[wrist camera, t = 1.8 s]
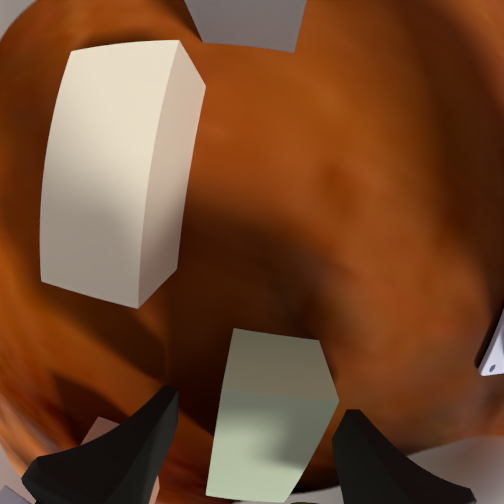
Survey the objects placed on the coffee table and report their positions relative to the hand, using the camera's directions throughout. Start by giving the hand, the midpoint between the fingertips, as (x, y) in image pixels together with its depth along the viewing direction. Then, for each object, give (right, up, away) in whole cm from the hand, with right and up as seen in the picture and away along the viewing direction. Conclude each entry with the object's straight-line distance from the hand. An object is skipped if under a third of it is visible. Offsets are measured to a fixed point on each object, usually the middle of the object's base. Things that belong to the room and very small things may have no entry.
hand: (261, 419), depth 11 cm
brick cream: (-4, +10, 0) cm, 11 cm away
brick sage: (0, 0, +2) cm, 2 cm away
